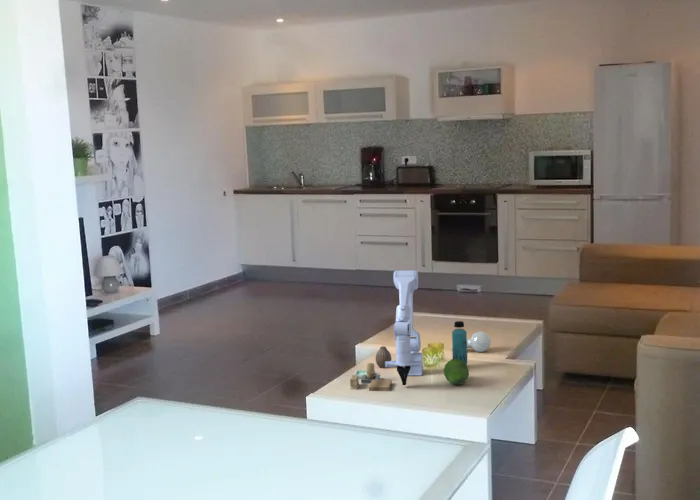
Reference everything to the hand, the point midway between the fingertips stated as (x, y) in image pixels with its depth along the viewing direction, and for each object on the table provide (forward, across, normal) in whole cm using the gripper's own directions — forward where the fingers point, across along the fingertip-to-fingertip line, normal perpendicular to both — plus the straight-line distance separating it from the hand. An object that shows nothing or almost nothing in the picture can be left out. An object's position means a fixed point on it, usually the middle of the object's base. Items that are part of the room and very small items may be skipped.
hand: (404, 384), depth 322 cm
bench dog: (+1, -20, 0) cm, 20 cm away
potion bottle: (+1, +27, +54) cm, 61 cm away
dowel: (+1, -15, +8) cm, 17 cm away
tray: (+1, -18, +15) cm, 23 cm away
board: (+2, -10, 0) cm, 10 cm away
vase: (+1, -12, +30) cm, 32 cm away
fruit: (+1, +20, +6) cm, 21 cm away
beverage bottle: (+1, +22, +28) cm, 36 cm away
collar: (+1, -15, +8) cm, 17 cm away
